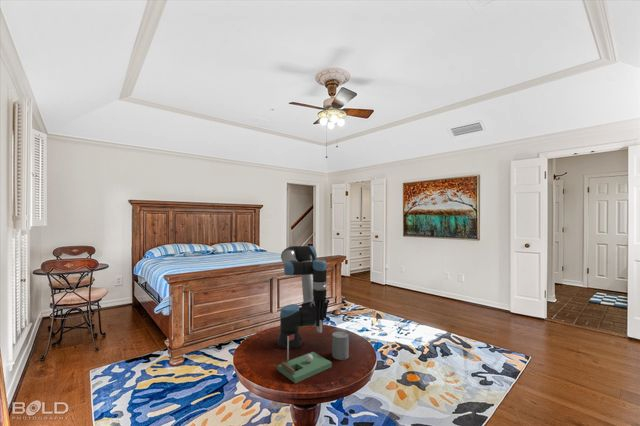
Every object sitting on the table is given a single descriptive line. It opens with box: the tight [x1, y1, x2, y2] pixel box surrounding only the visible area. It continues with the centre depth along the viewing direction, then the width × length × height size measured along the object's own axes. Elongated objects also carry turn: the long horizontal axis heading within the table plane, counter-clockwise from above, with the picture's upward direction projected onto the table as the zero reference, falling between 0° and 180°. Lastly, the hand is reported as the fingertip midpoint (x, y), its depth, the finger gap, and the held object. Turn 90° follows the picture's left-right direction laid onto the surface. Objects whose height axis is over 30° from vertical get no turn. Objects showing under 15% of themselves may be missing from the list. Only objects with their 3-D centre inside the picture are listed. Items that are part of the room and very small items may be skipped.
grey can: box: [331, 330, 350, 361], centre depth 175 cm, size 10×10×12 cm
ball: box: [306, 353, 313, 362], centre depth 163 cm, size 4×4×4 cm
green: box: [276, 334, 333, 384], centre depth 161 cm, size 16×24×16 cm, turn 130°
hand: (319, 331), depth 167 cm, fingers closed
